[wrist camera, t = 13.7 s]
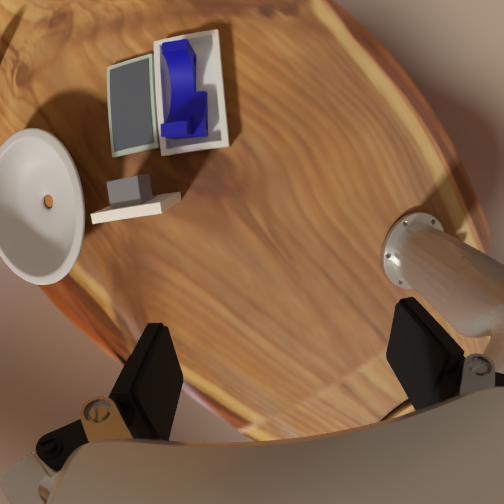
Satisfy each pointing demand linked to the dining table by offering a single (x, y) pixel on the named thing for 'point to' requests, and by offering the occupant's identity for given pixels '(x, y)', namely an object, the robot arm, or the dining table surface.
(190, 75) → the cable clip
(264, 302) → the dining table surface
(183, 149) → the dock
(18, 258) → the soup bowl
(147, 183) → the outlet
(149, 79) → the phone
